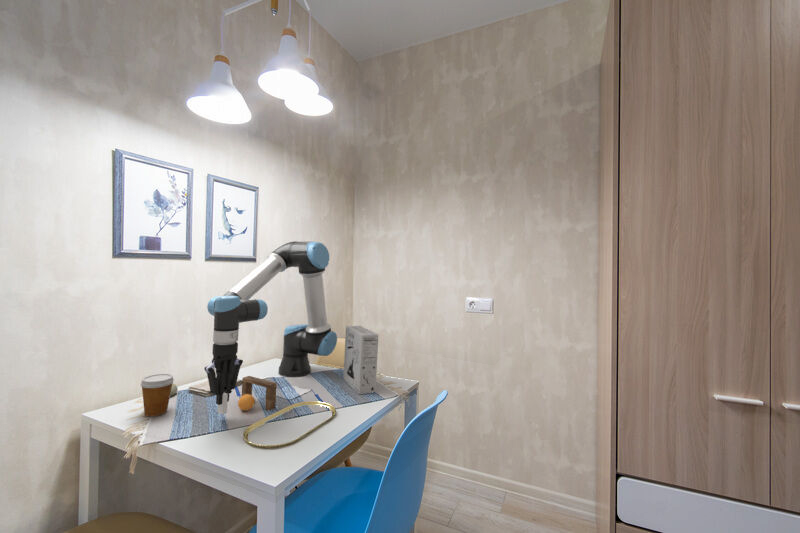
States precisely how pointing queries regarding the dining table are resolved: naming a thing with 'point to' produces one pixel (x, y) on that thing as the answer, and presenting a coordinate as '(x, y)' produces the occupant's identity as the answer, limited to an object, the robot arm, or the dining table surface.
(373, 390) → the cereal box
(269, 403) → the bridge
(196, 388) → the washcloth
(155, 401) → the disposable coffee cup
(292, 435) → the dining table surface
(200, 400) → the dining table surface
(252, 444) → the oval ring
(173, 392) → the sea urchin shell
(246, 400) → the ball
